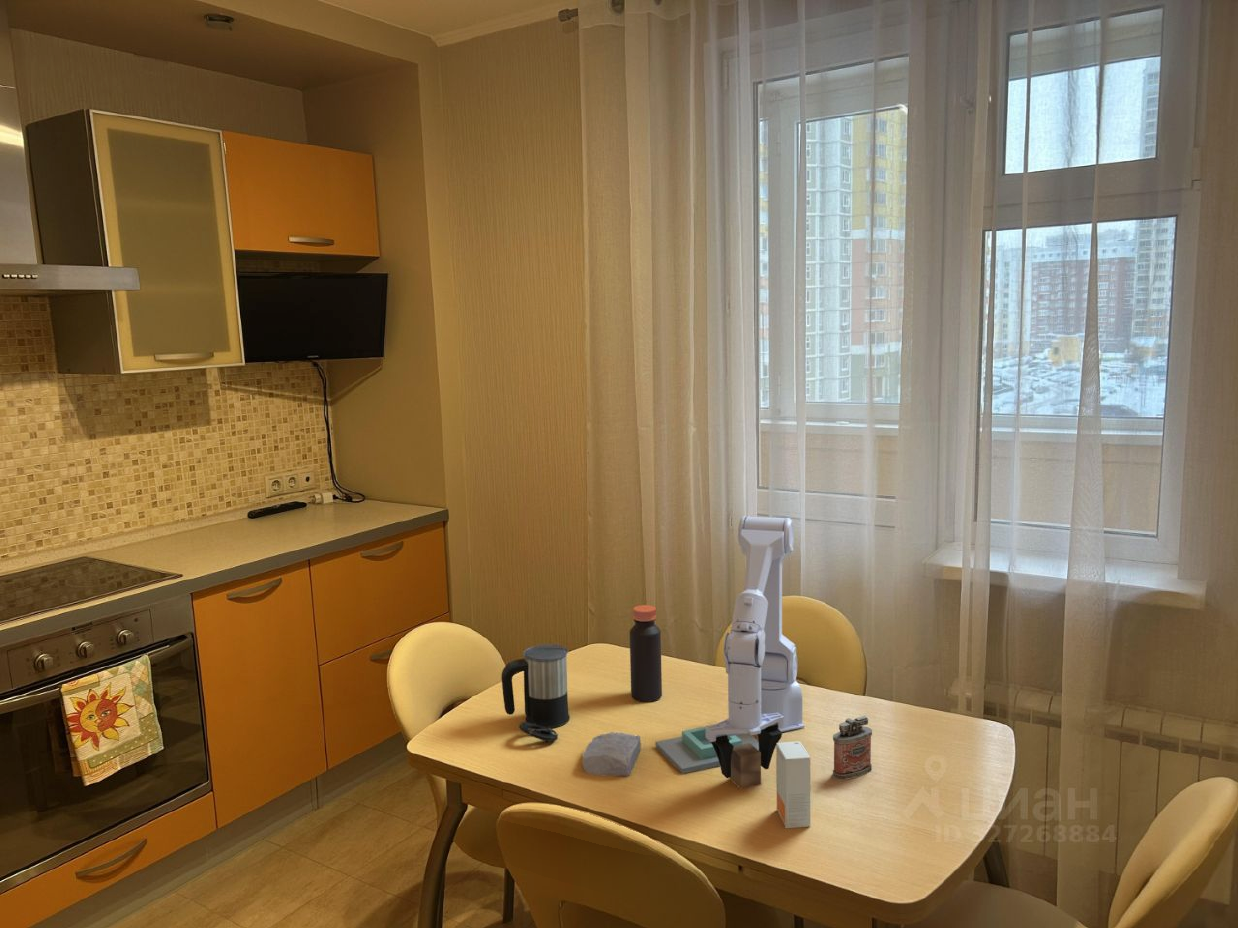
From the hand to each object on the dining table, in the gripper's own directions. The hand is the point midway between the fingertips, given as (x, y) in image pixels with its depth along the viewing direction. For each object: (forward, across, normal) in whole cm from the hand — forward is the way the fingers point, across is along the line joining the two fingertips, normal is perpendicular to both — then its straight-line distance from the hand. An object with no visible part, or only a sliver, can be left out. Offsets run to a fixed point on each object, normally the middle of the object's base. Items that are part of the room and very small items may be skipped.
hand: (745, 771), depth 161 cm
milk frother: (+2, -26, +36) cm, 44 cm away
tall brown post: (+2, 0, 0) cm, 2 cm away
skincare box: (+2, +1, -14) cm, 14 cm away
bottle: (+2, -1, +42) cm, 42 cm away
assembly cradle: (+2, 0, +13) cm, 13 cm away
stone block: (+2, -19, +17) cm, 26 cm away
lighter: (+2, +19, -5) cm, 20 cm away
